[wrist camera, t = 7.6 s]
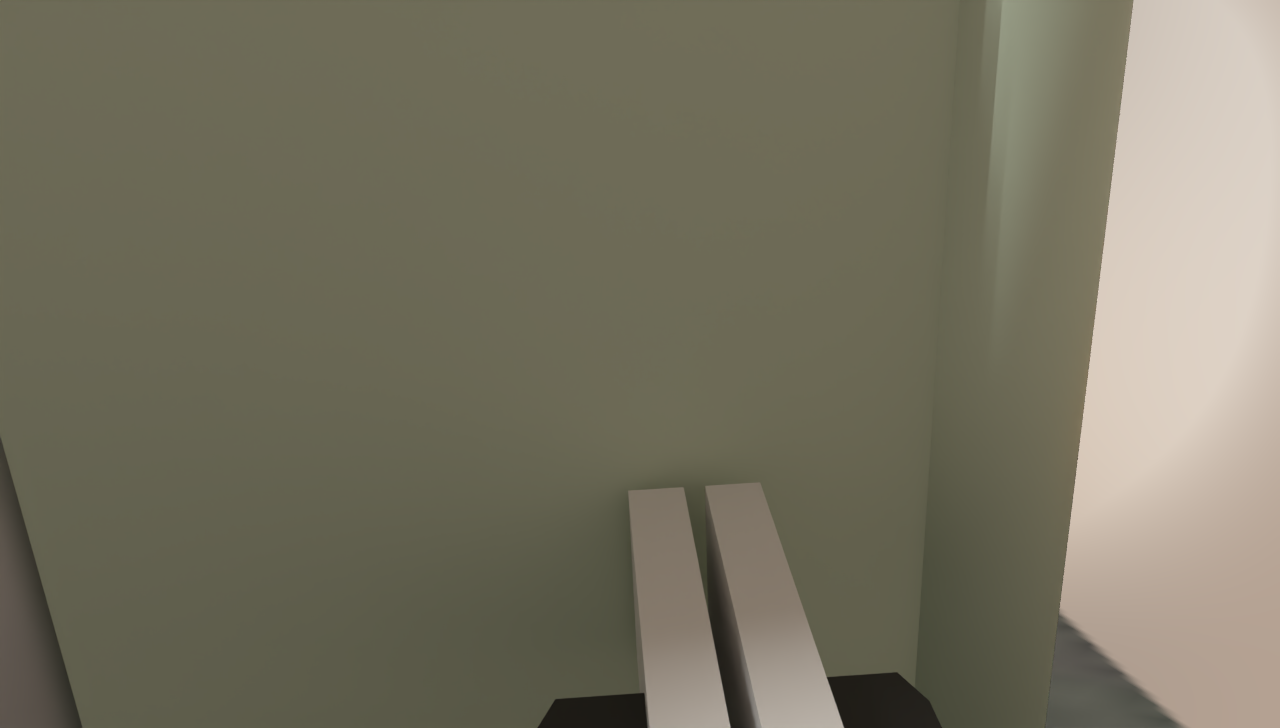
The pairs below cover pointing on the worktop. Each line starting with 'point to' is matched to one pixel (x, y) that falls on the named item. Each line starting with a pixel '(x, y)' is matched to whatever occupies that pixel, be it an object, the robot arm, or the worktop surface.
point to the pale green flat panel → (533, 341)
